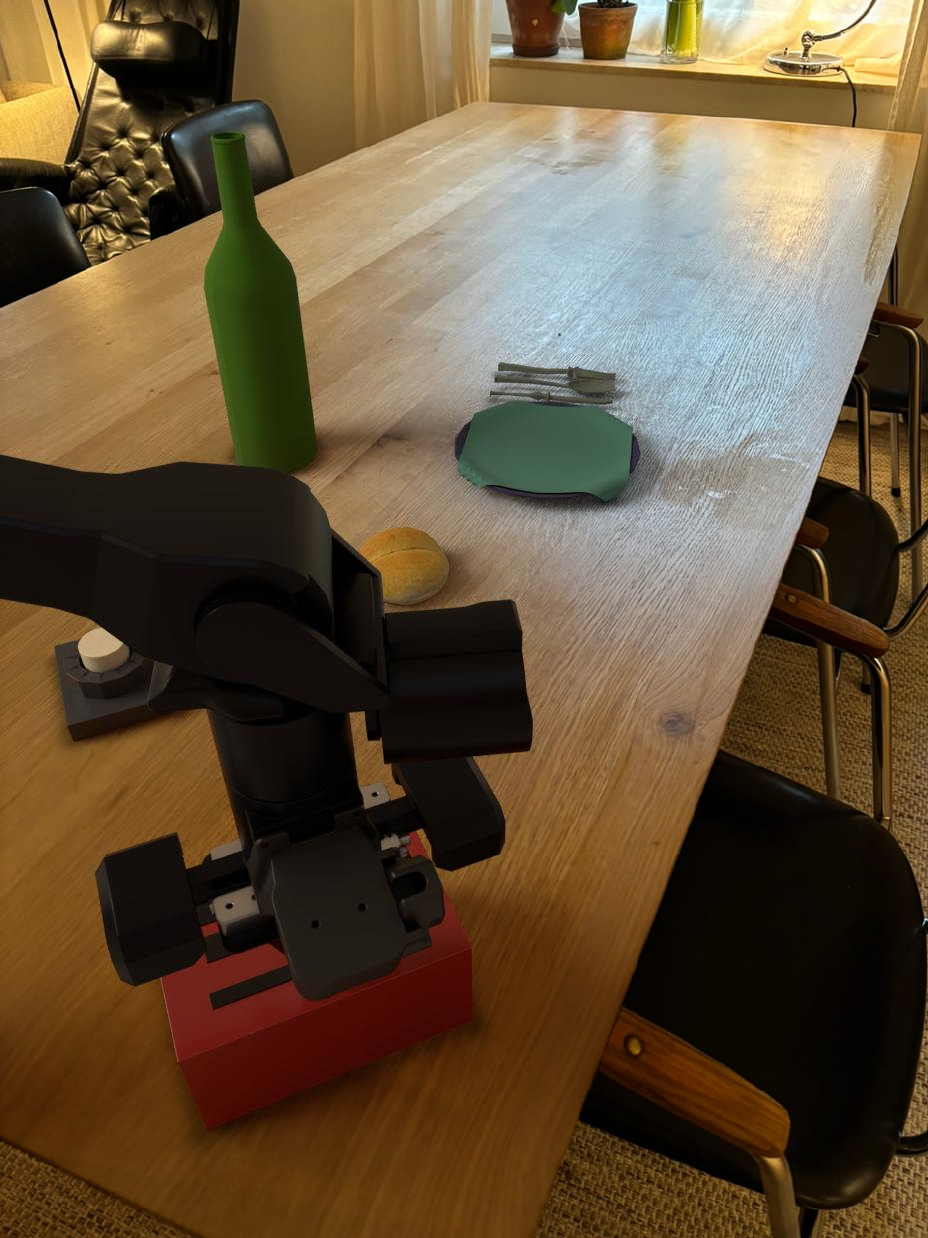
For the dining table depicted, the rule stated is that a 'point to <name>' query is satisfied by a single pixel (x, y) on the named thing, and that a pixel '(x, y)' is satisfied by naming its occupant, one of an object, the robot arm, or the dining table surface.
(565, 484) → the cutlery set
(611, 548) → the dining table surface
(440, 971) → the toaster
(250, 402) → the wine bottle
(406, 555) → the bread roll
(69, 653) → the block
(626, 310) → the dining table surface
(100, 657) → the button
